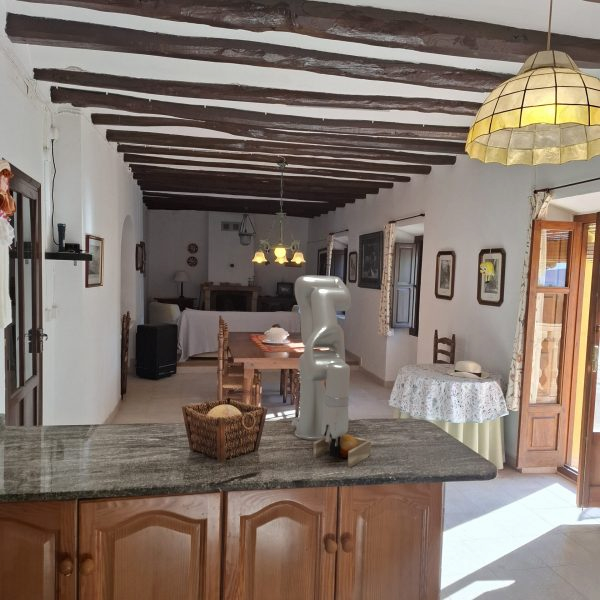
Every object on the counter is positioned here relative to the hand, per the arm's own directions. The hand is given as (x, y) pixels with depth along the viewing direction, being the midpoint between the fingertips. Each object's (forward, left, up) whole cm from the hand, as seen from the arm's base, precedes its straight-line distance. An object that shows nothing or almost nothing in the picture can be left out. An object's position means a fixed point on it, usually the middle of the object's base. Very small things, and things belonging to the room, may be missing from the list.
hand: (334, 456), depth 167 cm
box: (0, +5, -2) cm, 5 cm away
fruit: (0, +6, -2) cm, 6 cm away
